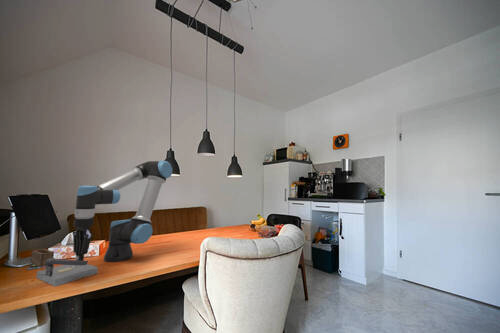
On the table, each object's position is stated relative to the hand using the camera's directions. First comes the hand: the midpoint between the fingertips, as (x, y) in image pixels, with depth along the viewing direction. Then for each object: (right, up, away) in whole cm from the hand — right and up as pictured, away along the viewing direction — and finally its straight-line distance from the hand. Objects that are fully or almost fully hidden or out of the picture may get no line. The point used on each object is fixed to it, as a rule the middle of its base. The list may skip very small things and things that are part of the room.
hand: (78, 269), depth 100 cm
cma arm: (-4, +3, -2) cm, 5 cm away
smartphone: (-35, -7, +18) cm, 40 cm away
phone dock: (-35, -6, +18) cm, 40 cm away
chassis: (-9, -5, +4) cm, 11 cm away
